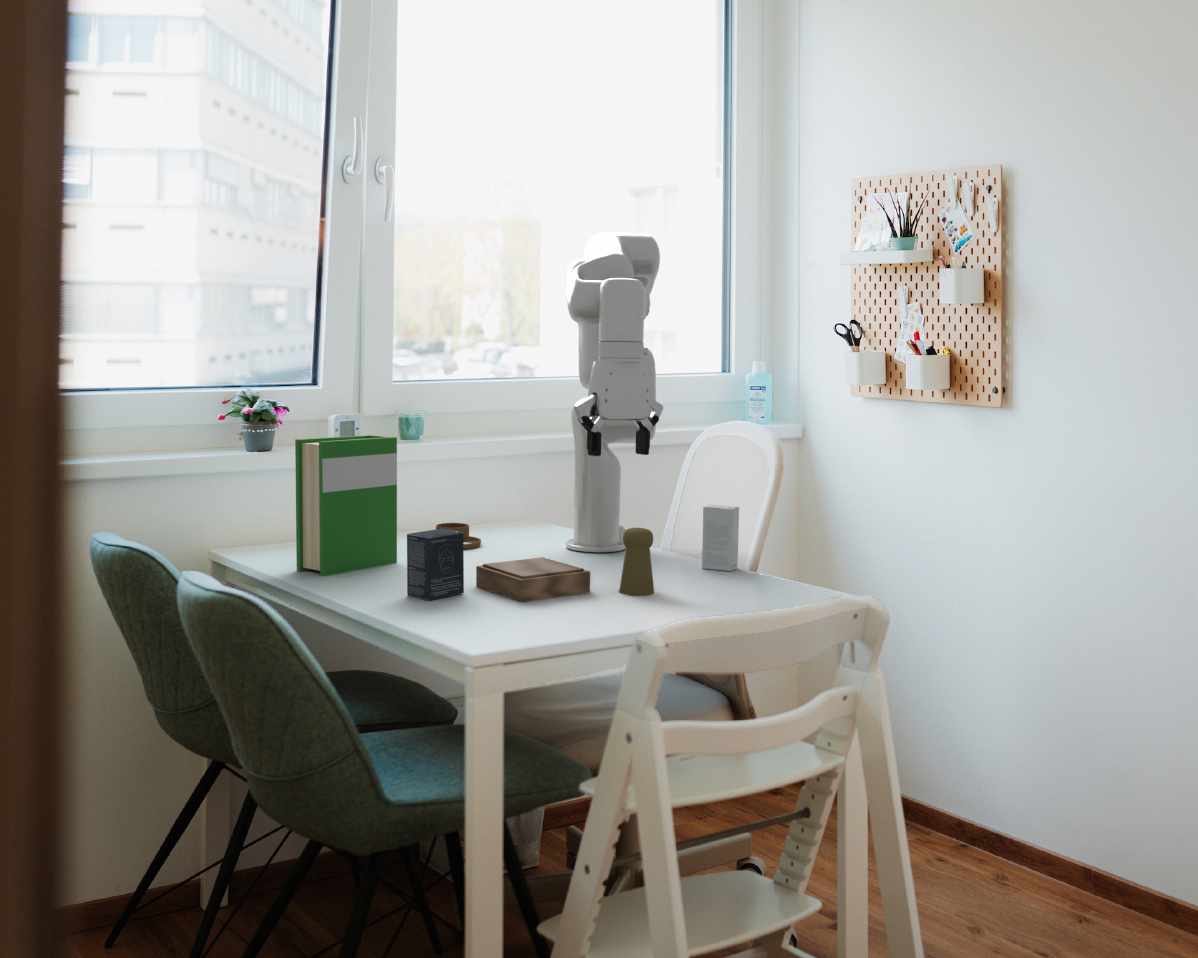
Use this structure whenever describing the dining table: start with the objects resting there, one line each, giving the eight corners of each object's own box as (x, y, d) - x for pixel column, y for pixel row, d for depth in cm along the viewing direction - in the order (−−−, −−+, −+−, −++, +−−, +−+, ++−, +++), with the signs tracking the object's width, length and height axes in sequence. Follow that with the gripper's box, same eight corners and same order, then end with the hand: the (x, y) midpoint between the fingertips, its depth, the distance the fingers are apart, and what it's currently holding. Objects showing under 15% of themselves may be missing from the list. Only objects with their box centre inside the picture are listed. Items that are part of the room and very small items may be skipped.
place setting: (473, 556, 217) (473, 527, 217) (375, 553, 219) (374, 524, 218) (487, 542, 235) (487, 515, 234) (396, 539, 236) (396, 512, 235)
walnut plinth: (543, 578, 195) (543, 556, 194) (589, 592, 184) (590, 569, 183) (476, 586, 186) (476, 563, 186) (520, 602, 175) (520, 577, 175)
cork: (651, 596, 181) (653, 532, 180) (616, 594, 182) (617, 530, 181) (656, 589, 187) (658, 526, 186) (622, 587, 188) (624, 524, 187)
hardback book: (323, 576, 193) (322, 441, 190) (296, 570, 197) (295, 439, 194) (396, 562, 207) (396, 437, 204) (370, 557, 211) (370, 435, 208)
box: (441, 589, 184) (442, 527, 183) (464, 594, 181) (465, 531, 179) (405, 596, 178) (405, 532, 177) (428, 601, 175) (428, 536, 173)
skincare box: (738, 568, 208) (740, 506, 207) (731, 571, 204) (733, 509, 203) (708, 565, 211) (710, 504, 209) (700, 568, 207) (702, 506, 205)
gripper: (650, 354, 189) (647, 452, 191) (564, 352, 180) (563, 454, 182) (675, 354, 183) (673, 455, 185) (588, 351, 174) (586, 458, 176)
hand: (618, 454), depth 183 cm, fingers open, 9 cm apart
